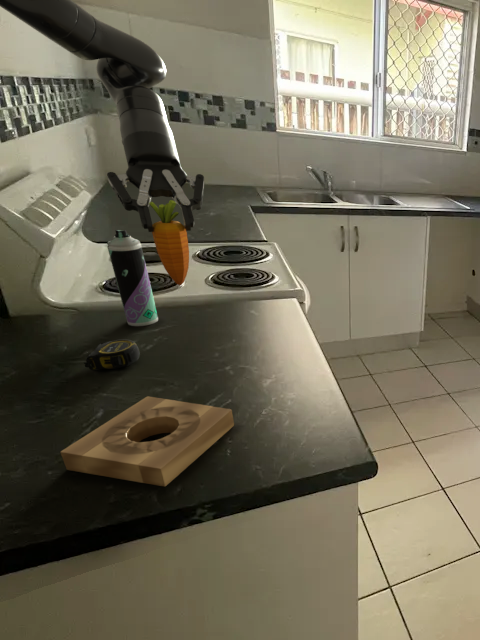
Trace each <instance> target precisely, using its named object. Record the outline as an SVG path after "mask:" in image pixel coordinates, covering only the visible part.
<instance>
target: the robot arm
mask: <svg viewBox="0 0 480 640" xmlns="http://www.w3.org/2000/svg"><path fill="white" fill-rule="evenodd" d="M0 8H2V9H3V10H5V11H6V12H8V13H10V14H11V15H12V16H14V17H16V19H18V20H20V21H22V22H23V23H25V24H26V25H27V26H29V27H31V28H32V29H33V30H35V31H36V32H37V33H40V34H41V35H43V36H44V37H46V38H47V39H49V40H50V41H52V42H53V43H55V44H56V45H58V46H59V47H61V48H63V49H64V50H66V51H67V52H69V53H70V54H72V55H74V56H75V57H77V58H79V59H82V60H86V61H96V60H97V63H96V67H95V69H96V74H97V76H98V78H99V80H100V81H101V83H102V85H103V86H104V87H105V89H106V91H107V92H108V94H109V95H110V97H111V99H112V101H113V102H114V104H115V107H116V112H117V117H118V120H119V132H120V137H121V144H122V146H123V151H124V154H125V159H126V163H127V169H126V171H125V172H124V173H119V174H117V173H115V172H114V171H108V172H107V174H106V175H107V176H106V177H107V180H108V185H109V186H110V188H111V189H112V191H113V193H114V194H115V196H116V197H117V199H118V200H119V202H120V204H121V205H122V207H123V209H124V210H125V211H127V212H130V211H131V212H132V211H134V212H137V213H138V214H139V219H140V223H141V227H142V228H143V230H147V231H148V233H152V232H154V231H153V221H152V217H151V212H150V208H149V206H150V204H149V203H150V202H152V198H158V197H165V198H172V200H173V201H175V202H176V205H178V207H179V208H180V209H181V210H180V211H181V215H182V216H181V217H182V221H183V225H184V226H185V229H186V232H191V231H192V228H194V227H195V219H194V215H193V211H194V210H196V211H200V210H202V207H203V198H204V190H205V177H204V175H203V174H201V173H197V174H196V175H191V174H187V173H186V171H185V170H184V169H183V168H182V166H181V161H180V157H179V153H178V149H177V146H176V142H175V138H174V133H173V131H172V129H171V127H170V125H169V124H170V123H169V121H168V116H167V112H166V108H165V105H164V102H163V100H162V98H161V97H160V96H159V94H158V93H156V92H155V91H154V90H153V89H151V88H153V87H155V86H156V85H159V84H161V82H163V81H164V80H165V79H166V78H167V68H166V65H165V63H164V60H163V59H162V57H161V56H160V55H159V54H158V52H157V51H156V50H154V49H153V48H152V47H151V46H149V44H147V43H145V42H144V41H142V40H141V39H139V38H137V37H135V36H133V35H130V34H128V33H126V32H124V31H122V30H120V29H118V28H115V27H114V26H112V25H110V24H107V23H105V22H103V21H100V20H99V19H98V18H96V17H95V16H94V15H92V14H90V13H89V12H88V11H87V10H86V9H84V8H82V7H81V6H80V5H78V4H77V3H76V2H75V1H74V0H0ZM128 182H129V183H131V184H132V185H133V186H134V187H136V188H137V189H138V195H137V199H134V198H132V197H131V195H130V194H129V192H128V190H127V187H128V185H127V183H128ZM186 183H188V184H189V186H190V188H191V189H193V198H190V199H189V198H188V197H187V195H186V193H185V192H184V189H183V188H184V186H185V185H186Z"/></svg>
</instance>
